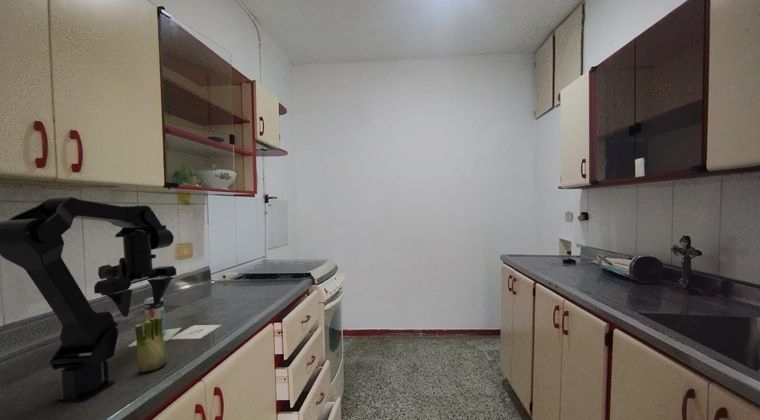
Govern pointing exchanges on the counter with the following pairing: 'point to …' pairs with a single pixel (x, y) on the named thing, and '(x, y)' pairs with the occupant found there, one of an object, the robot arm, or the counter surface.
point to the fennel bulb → (150, 345)
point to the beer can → (154, 311)
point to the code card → (195, 332)
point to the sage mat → (166, 336)
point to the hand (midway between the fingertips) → (141, 310)
